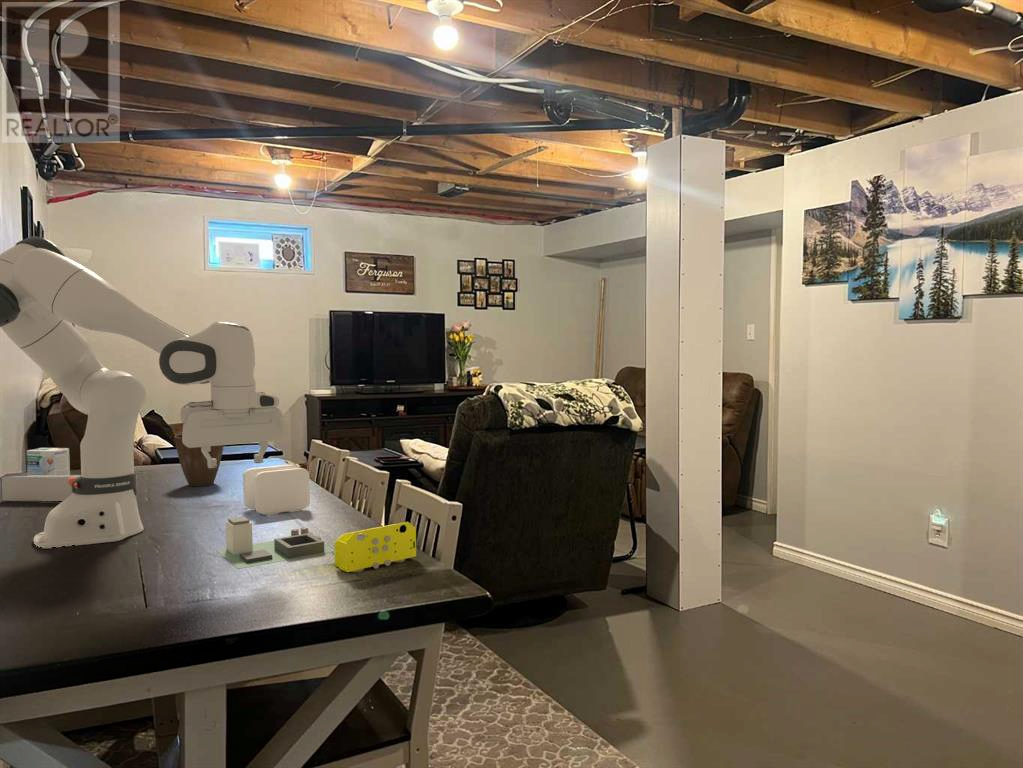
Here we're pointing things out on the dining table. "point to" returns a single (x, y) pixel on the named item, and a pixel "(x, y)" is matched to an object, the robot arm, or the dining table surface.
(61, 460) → the light bulb box
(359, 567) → the yellow toy chassis
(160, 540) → the dining table surface
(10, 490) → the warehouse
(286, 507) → the cable organizer
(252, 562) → the board
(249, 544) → the plug
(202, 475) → the plant pot
